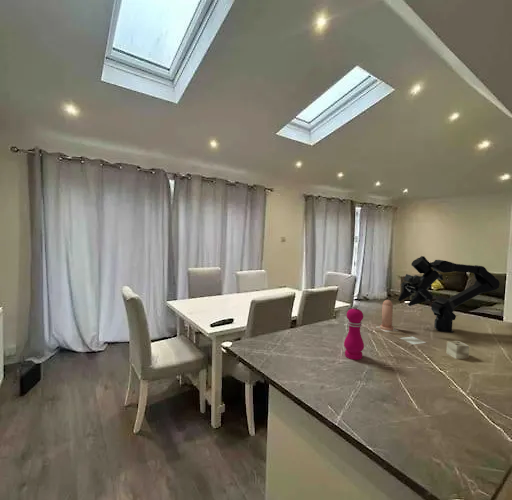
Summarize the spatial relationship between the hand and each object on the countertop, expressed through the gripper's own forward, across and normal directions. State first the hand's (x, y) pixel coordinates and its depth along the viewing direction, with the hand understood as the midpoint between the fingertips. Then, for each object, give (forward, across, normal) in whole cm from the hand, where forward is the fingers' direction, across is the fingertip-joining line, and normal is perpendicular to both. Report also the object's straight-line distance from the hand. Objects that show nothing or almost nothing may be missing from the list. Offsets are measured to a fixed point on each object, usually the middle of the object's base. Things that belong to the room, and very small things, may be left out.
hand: (403, 302), depth 142 cm
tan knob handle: (+15, 0, +3) cm, 15 cm away
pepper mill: (+34, +31, -17) cm, 49 cm away
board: (+13, +8, +5) cm, 16 cm away
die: (+6, +30, +13) cm, 34 cm away
